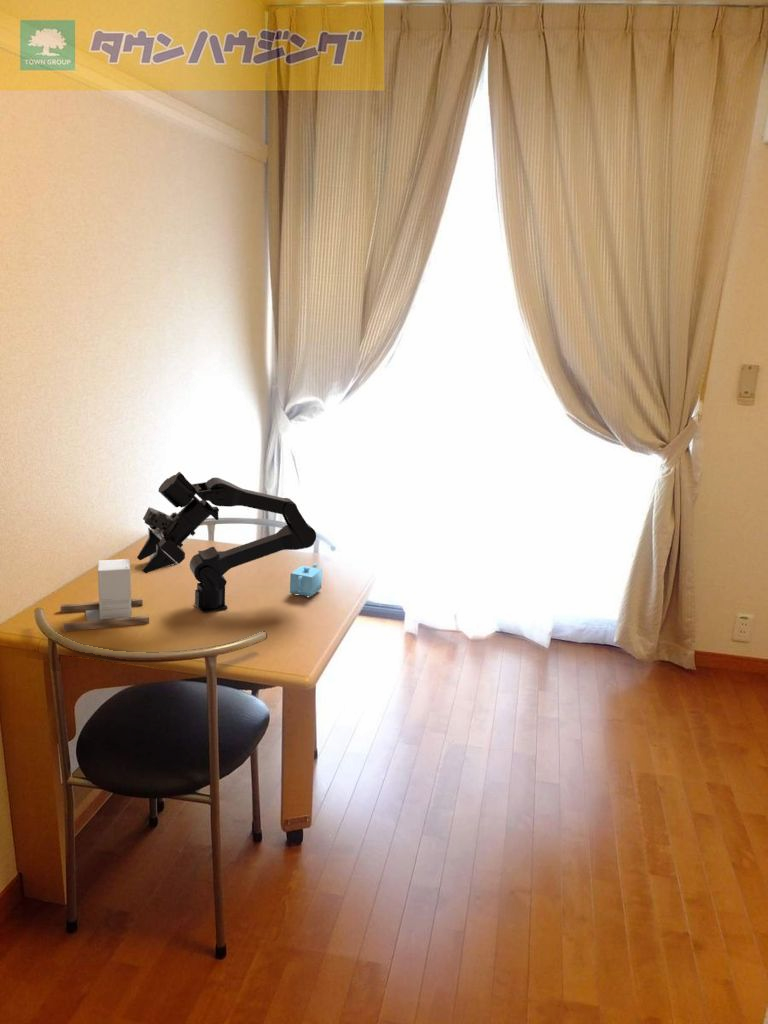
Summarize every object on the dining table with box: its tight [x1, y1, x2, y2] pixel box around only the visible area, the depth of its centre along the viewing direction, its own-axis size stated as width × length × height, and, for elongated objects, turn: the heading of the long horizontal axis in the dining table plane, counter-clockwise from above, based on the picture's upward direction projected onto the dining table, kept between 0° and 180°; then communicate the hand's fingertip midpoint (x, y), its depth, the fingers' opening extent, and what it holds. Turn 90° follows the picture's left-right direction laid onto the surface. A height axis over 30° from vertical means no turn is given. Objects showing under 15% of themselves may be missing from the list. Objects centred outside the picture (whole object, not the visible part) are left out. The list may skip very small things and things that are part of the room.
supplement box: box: [97, 558, 132, 620], centre depth 194 cm, size 7×7×13 cm
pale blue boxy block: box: [289, 562, 323, 597], centre depth 218 cm, size 12×6×8 cm, turn 161°
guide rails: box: [59, 597, 150, 633], centre depth 194 cm, size 19×12×2 cm, turn 114°
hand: (141, 565), depth 194 cm, fingers open, 9 cm apart
